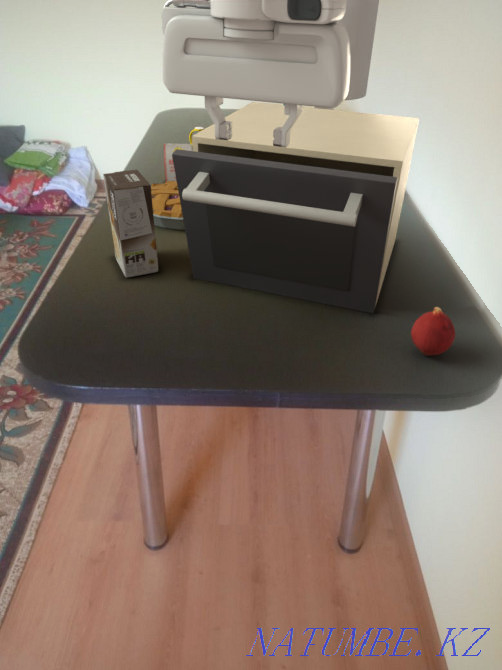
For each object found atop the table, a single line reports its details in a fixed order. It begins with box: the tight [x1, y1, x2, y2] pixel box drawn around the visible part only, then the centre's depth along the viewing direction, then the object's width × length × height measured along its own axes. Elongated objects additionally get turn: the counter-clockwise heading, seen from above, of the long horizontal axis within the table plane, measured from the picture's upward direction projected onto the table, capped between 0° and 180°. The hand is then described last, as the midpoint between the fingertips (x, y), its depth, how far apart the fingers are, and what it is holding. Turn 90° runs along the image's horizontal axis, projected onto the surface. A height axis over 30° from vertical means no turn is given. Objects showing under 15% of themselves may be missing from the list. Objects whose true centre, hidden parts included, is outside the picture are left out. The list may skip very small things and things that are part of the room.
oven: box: [192, 101, 420, 308], centre depth 93 cm, size 28×32×24 cm
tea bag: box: [163, 143, 193, 183], centre depth 129 cm, size 4×7×10 cm, turn 92°
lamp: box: [313, 0, 380, 110], centre depth 136 cm, size 22×22×40 cm
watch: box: [188, 126, 205, 145], centre depth 158 cm, size 6×3×6 cm, turn 74°
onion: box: [410, 306, 456, 357], centre depth 73 cm, size 6×6×8 cm
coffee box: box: [102, 169, 159, 278], centre depth 91 cm, size 9×6×16 cm
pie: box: [151, 180, 185, 231], centre depth 115 cm, size 22×22×5 cm
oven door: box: [172, 149, 398, 314], centre depth 78 cm, size 7×32×24 cm, turn 70°
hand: (252, 142), depth 59 cm, fingers open, 5 cm apart
